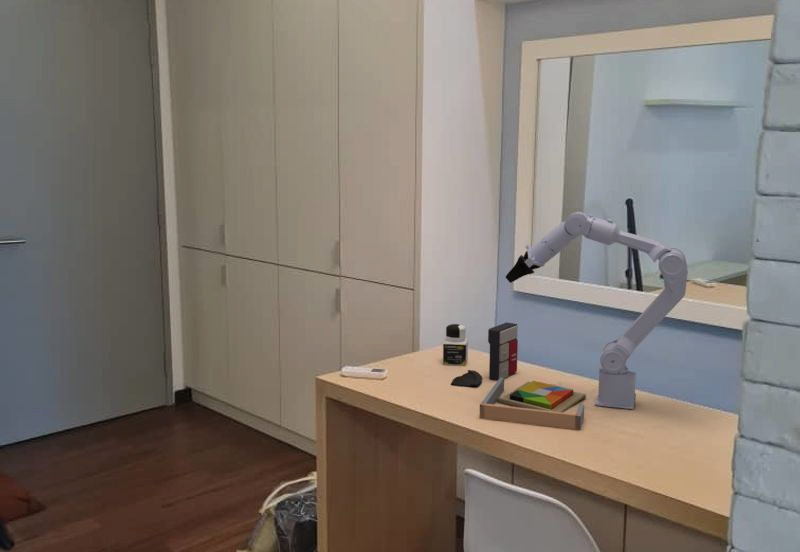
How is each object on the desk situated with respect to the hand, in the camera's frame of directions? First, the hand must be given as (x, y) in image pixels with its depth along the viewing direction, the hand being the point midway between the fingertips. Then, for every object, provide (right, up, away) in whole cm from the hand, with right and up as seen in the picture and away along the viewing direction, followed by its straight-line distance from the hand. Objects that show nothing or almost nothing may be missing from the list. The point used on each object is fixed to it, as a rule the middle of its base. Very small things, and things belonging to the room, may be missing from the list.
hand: (510, 277), depth 200 cm
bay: (+5, -34, -8) cm, 35 cm away
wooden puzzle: (+8, -33, -2) cm, 34 cm away
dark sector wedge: (-10, -31, +15) cm, 35 cm away
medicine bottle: (-12, -27, +34) cm, 45 cm away
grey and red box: (+1, -29, +20) cm, 35 cm away
